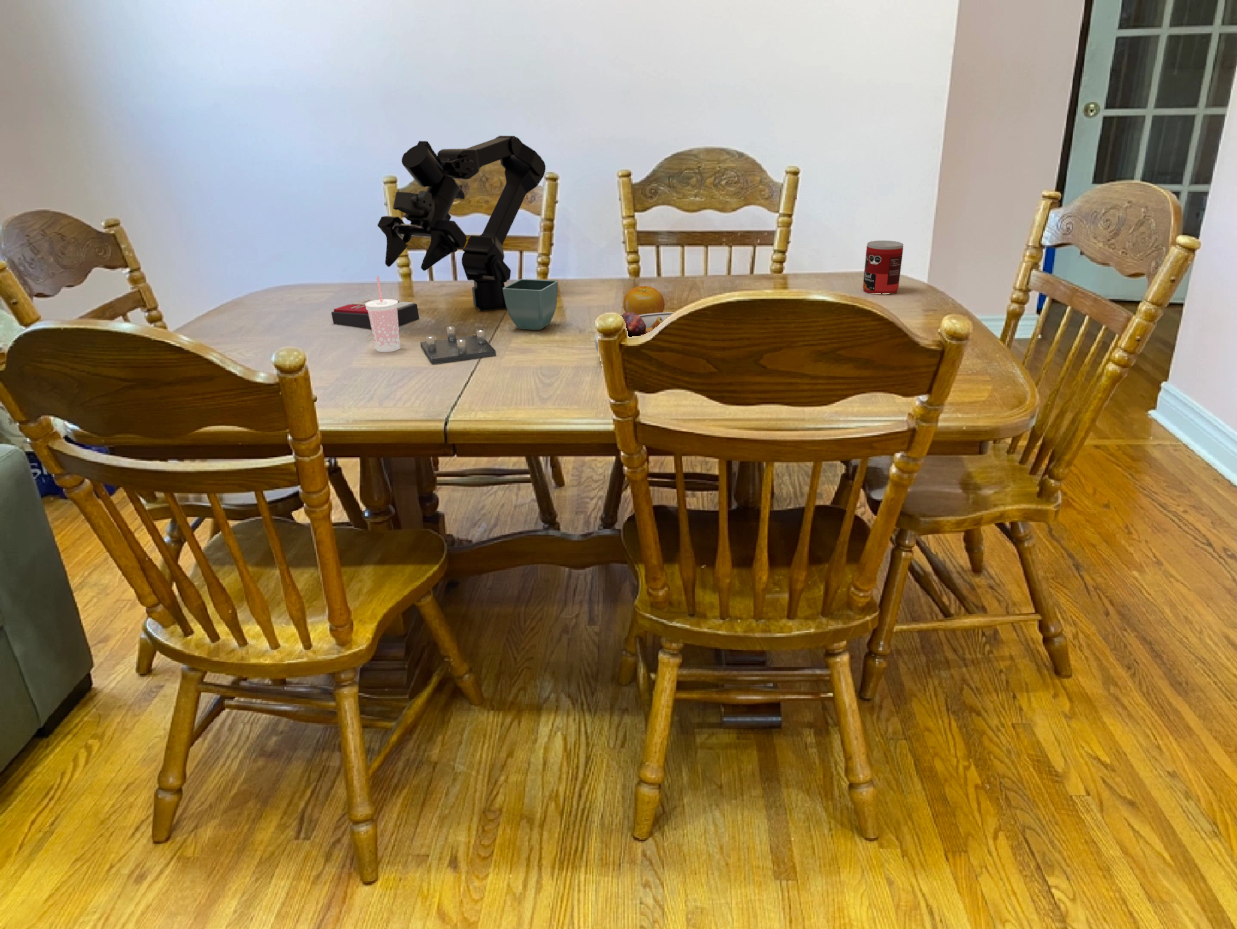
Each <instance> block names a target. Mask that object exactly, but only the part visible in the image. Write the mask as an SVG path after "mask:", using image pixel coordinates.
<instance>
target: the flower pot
mask: <svg viewBox="0 0 1237 929" xmlns="http://www.w3.org/2000/svg"><path fill="white" fill-rule="evenodd" d="M558 285H559V281H558V280H551V279H530V278H529V279H528V278H520V279H518V280H516V281H514V282H512V283H510V284H508V285H506V286H505V287H504V288H503V294H504V298H505V303H506V307H507V308H506V309H507V310H506V311H507V313H508V316H509V317H510V319H511V322H512V323H513V324H514V325H515V326H516V328H517V329H519V330H533V331H534V330H535V331H540V330H542V329H544V328H545V327H547V326H549V325H550V324H551V321H552V319H553V317H554V315H555V312H556V309H557V303H558V290H559V288H558V287H559V286H558Z"/></svg>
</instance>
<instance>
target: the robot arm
mask: <svg viewBox="0 0 1237 929" xmlns="http://www.w3.org/2000/svg"><path fill="white" fill-rule="evenodd" d="M417 142H418V143H417V144H416V145H414V146H412V147H410V148H409V149H408V150H407V151H405V152H404V153H403V154H402V157H401V164H402V166H403V167H404V168H405V170H407V172H408V173H409V175H410V176H411V177H412V178H413V179H414V181H415V182H416V183H417V184H418V186H420V187H422V188H426V189H425V190H420V191H419V192H418V193H414V192H408V191H407V192H405V191H396V192H395V196H394V202H393V207H392V208H393V209H394V210H396V211H399V212H401V213H403V214H405V215H404V218H405V219H406V221H409V222H410V223H405V222H404V221H403V220H402V219H401V217H400V216H393V215H383V216H381V217H380V219H379V221H378V223H377V227H378V228H379V229H380V230H381V232H382V233H383V234H384V235H385V239H386V248H385V249H386V251H385V262H384V264H385V266H386V267H388V268H390V267H391V266H392V265H393V264H394V263H395V262H396V260H397V259H398V258H399V257H400V256H401V255H402V254H403V252H404V251H405V250H407V247H408V246H409V245H408V244H407V243H409V242H410V241H411V239H412V237H413V236H415V237H423V238H430V243H429V246H428V248H427V250H426V252H425V255H424V257H423V259H422V262H421V266H420V269H421V270H422V271H423V272H425V271H427V270H428V269H430V268H431V267H433V266H434V265H435V264H437V263H438V262H440V261H441V260H443V259H444V258H446V257H448V256H449V255H451V254H452V253H456V252H458V250H462V252H463V254H462V256H461V266H462V268H463V270H464V273H465V277H466V280H467V281H473V286H472V287H471V292H472V302H473V306H474V307H475V308H476V309H477V310H478V311H479V312H489V311H496V310H504V309H505V310H506V309H507V307H506V303H505V298H504V294H503V288H504V287H506V286H505V283H507V282H508V281H510V279H511V274H512V270H511V268H510V267H509V265H507V264H506V263H505V261H504V260H505V252H504V245H503V244H504V242H505V240H506V238H507V236H508V233H509V232H510V229H511V227H512V226H513V223H514V221H515V218H516V217H517V215H518V213H519V211H520V208H521V206H522V203H523V202H524V199H525V197H526V196H527V194H529V193H530V192H531V191H532V190H534V189H535V188H537V187H538V185H539V184H540V183H541V181H542V179H543V178H544V176H545V173H546V169H547V168H546V162H545V161H544V160H543V158H542V157H541V155H539V153H538V152H537V151H536V150H535V149H533V148H531V147H530V146H528V145H526V144H524V143H523V142H522V140H521V138H519V137H517V136H515V135H498V136H496V137H495V138H493V139H490V140H488V141H484V142H481V143H478V144H475V145H472V146H470V147H468V148H467V147H466V148H442V149H440V150H439V151H438V152H437V153H436V152H435V151H434V149H433V148H432V146H431V144H430V143H429V142H428V140H419V141H417ZM498 161H500V165H501V166H502V167H503V169H504V177H505V185H504V188H503V189H502V192H501V194H500V196H499V198H498V200H497V202H496V204H495V206H494V208H493V210H492V213H491V215H490V217H489V218H488V221H487V223H486V225H485V228H484V230H483V231H482V233H481V234H480V235H470V236H469V237H468V240H467V234H466V233H465V232H464V231H463V230H462V229H461V227H460V226H459V225H458V224H457V222H456V221H455V220H451V219H452V215H451V214H450V213H449V212H450V210H451V209H452V206H453V204H454V202H455V199H456V200H465V198H466V197H465V193H464V191H463V185H461V184H458V183H457V181H456V180H470V179H472V178H473V177H474V176H477V174H478V173H479V172H480V168H482V167H485V166H487V165H490V164H492V163H495V162H498Z"/></svg>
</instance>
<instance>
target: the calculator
mask: <svg viewBox="0 0 1237 929" xmlns="http://www.w3.org/2000/svg"><path fill="white" fill-rule="evenodd" d="M373 300H376V299H373V298H372V299H370V298H365V299H361V300H358V301H355V302H352V303H351V304H345V305H343V306H340V307H336V308H334V309H333V311H331V312H330V315H331V320H332V323H333V325H338V326H345V327H350V328H351V327H352V328H359V329H360V328H363V329H369V330H371V331H372V328H371V323H370V319H369V314H368V310H367V309H366V306H365V304H366V303H367V302H370V301H373ZM397 301H398V307H397V313H398V327H402V326H404V325H407V324H410V323H412V322H414V321H415V322H416V321H418V320H420V316H419V308H418V304H417V303H415V302H414V301H413V302H412V301H400V300H397Z"/></svg>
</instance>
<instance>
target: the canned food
mask: <svg viewBox="0 0 1237 929" xmlns="http://www.w3.org/2000/svg"><path fill="white" fill-rule="evenodd" d="M903 253H904V243H902V242H900V241H894V240H873V241H872V240H871V241H868V242H867V245H866V251H865V259H864V260H865V262H864V268H863V269H864V271H863V280H862V290H863V292H864V291H865V292H864V293H866V292H867V293H866V294H869V293H881V294H882V293H895V294H896V293H898V291H899V286H900V277H901V270H902V261H903Z"/></svg>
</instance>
